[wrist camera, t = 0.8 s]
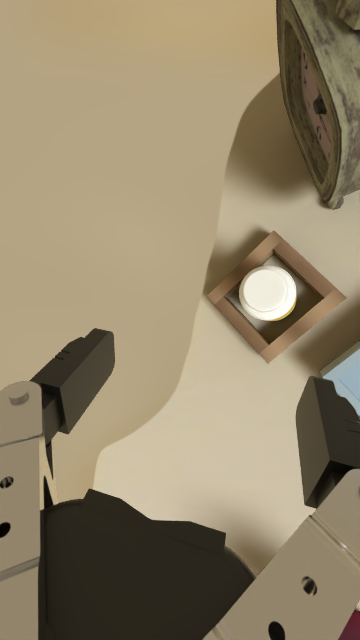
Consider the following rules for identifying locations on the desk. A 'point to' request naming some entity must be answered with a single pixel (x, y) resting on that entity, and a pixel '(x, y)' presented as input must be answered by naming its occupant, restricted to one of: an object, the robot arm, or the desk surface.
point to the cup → (352, 628)
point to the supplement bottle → (268, 293)
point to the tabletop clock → (323, 89)
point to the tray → (346, 375)
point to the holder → (302, 269)
